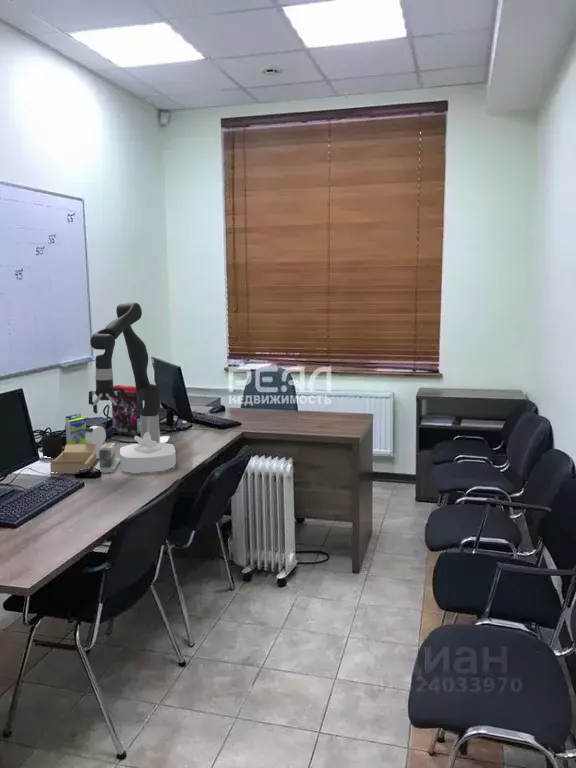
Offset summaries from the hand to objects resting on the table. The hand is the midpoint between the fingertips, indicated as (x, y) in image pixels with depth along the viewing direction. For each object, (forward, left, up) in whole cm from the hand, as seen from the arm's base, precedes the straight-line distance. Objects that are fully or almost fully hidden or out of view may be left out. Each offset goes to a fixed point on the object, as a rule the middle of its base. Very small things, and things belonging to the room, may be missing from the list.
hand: (105, 413), depth 286 cm
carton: (+15, 0, -25) cm, 29 cm away
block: (0, -1, -24) cm, 24 cm away
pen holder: (+30, -19, -26) cm, 44 cm away
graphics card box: (+1, -63, -26) cm, 68 cm away
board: (0, 0, -25) cm, 25 cm away
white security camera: (+9, -19, -26) cm, 33 cm away
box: (+22, -34, -26) cm, 48 cm away
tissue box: (-18, -3, -26) cm, 32 cm away
